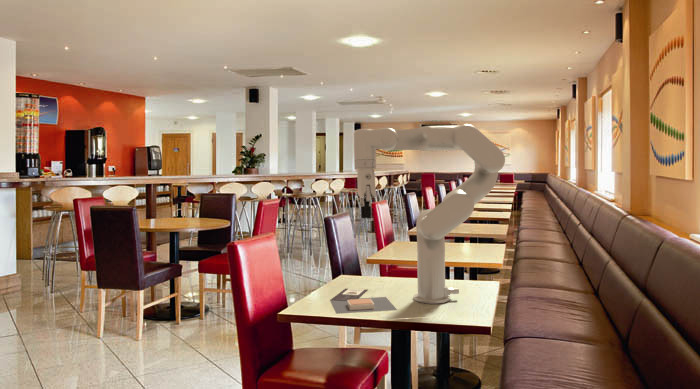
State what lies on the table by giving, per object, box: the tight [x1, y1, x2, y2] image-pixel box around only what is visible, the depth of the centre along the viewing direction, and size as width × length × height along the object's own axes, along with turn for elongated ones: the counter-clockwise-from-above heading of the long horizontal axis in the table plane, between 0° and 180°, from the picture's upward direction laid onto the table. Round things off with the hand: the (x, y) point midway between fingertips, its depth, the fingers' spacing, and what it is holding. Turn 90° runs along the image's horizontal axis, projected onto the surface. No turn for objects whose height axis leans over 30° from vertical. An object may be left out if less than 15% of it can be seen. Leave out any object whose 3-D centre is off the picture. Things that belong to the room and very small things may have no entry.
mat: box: [329, 296, 398, 315], centre depth 189 cm, size 20×18×1 cm
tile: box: [347, 299, 374, 310], centre depth 187 cm, size 8×2×7 cm
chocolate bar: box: [330, 288, 369, 301], centre depth 204 cm, size 9×1×18 cm
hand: (366, 217), depth 195 cm, fingers closed
